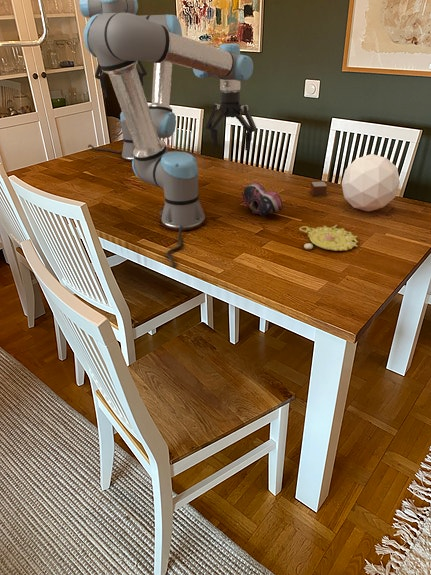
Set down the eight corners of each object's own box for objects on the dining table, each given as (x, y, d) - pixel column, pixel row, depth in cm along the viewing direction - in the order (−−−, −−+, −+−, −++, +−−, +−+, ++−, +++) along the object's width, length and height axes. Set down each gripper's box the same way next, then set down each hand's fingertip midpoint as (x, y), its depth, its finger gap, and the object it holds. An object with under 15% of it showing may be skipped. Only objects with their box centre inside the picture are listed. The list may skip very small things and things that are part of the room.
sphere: (373, 230, 162) (391, 201, 143) (326, 202, 166) (337, 171, 147) (398, 193, 166) (419, 160, 148) (352, 167, 171) (366, 133, 152)
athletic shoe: (254, 181, 170) (227, 189, 167) (283, 176, 151) (253, 185, 147) (260, 210, 173) (234, 218, 170) (290, 209, 154) (261, 219, 150)
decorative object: (343, 255, 128) (285, 234, 139) (342, 262, 130) (284, 241, 140) (372, 230, 142) (317, 213, 152) (371, 237, 143) (316, 219, 153)
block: (310, 191, 178) (311, 181, 175) (322, 191, 178) (323, 181, 176) (313, 196, 173) (314, 186, 171) (325, 196, 173) (327, 185, 171)
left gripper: (82, 37, 161) (93, 100, 172) (150, 34, 167) (156, 95, 178) (81, 36, 167) (91, 97, 178) (146, 33, 173) (152, 92, 184)
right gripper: (195, 91, 166) (199, 148, 178) (259, 93, 158) (258, 153, 170) (203, 88, 172) (206, 143, 184) (265, 90, 164) (264, 147, 175)
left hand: (123, 96), depth 178 cm, fingers open, 13 cm apart
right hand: (231, 148), depth 177 cm, fingers open, 13 cm apart
